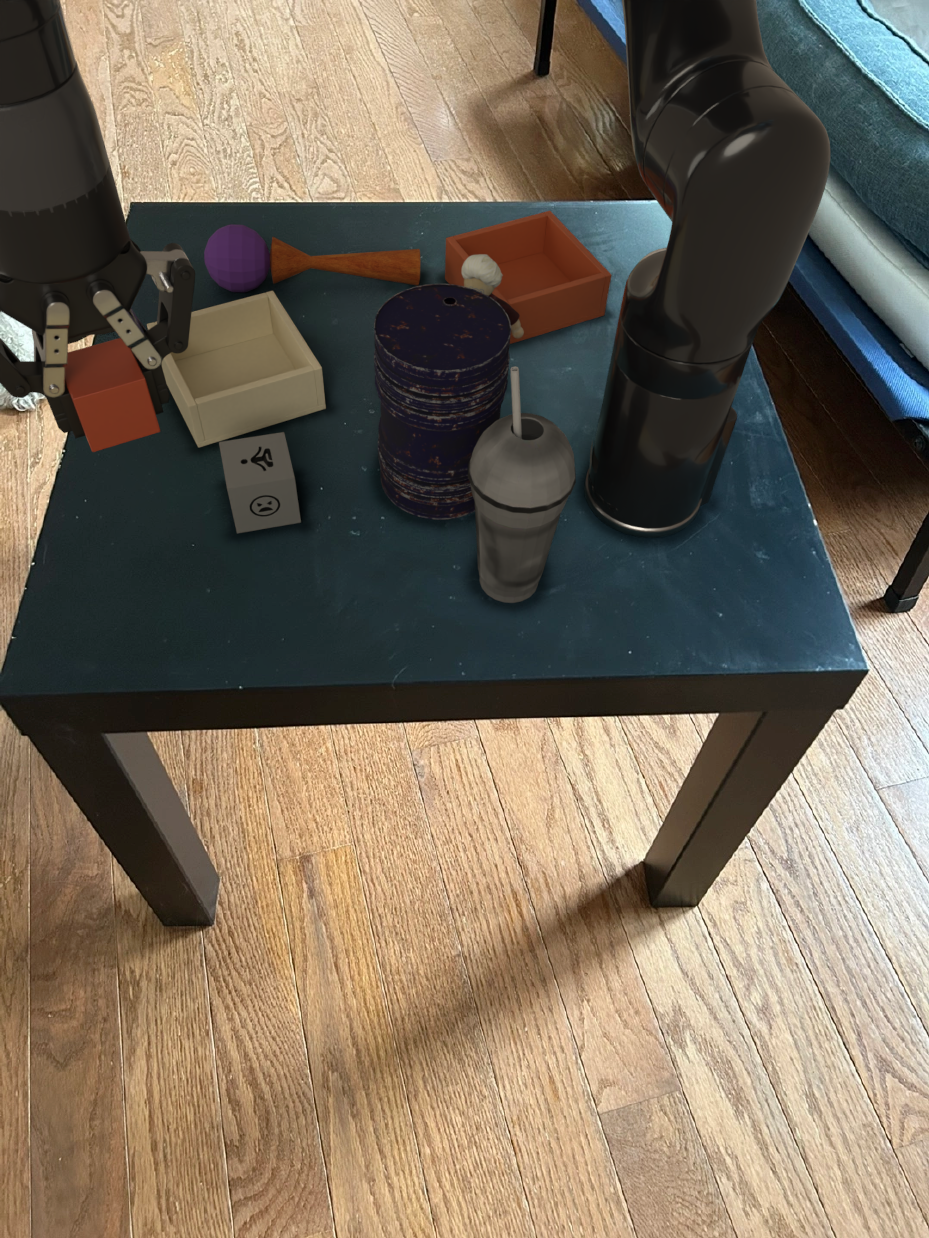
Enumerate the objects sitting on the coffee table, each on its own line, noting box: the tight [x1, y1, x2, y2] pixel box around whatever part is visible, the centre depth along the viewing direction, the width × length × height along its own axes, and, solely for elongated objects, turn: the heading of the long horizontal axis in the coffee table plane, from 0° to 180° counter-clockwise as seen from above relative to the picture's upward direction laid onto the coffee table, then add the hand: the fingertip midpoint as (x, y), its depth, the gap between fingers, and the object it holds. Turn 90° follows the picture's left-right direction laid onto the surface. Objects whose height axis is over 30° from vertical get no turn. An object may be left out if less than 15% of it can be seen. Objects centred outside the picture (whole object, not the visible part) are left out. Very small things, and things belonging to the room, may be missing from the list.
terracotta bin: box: [444, 210, 613, 345], centre depth 95 cm, size 11×11×4 cm
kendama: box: [203, 223, 421, 294], centre depth 94 cm, size 6×6×20 cm
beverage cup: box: [468, 366, 577, 604], centre depth 68 cm, size 7×7×20 cm
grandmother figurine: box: [462, 254, 524, 339], centre depth 84 cm, size 8×4×13 cm, turn 91°
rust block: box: [65, 337, 161, 453], centre depth 63 cm, size 4×4×4 cm
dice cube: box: [218, 431, 302, 534], centre depth 77 cm, size 5×5×5 cm
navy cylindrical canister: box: [373, 283, 511, 521], centre depth 76 cm, size 10×10×15 cm
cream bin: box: [146, 290, 327, 448], centre depth 86 cm, size 11×11×4 cm
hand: (116, 416), depth 64 cm, fingers closed on rust block, 4 cm apart
